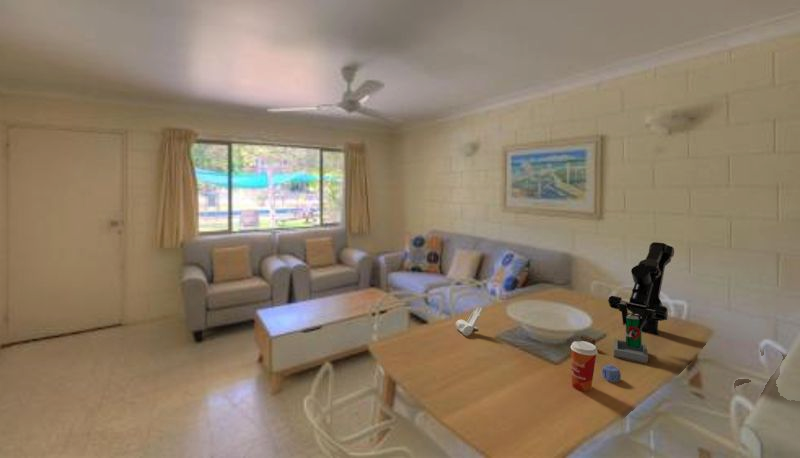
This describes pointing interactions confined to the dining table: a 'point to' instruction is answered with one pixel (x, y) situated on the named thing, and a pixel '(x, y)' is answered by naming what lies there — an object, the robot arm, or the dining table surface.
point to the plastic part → (469, 322)
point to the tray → (630, 352)
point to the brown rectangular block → (587, 339)
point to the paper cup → (582, 364)
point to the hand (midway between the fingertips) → (631, 326)
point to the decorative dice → (611, 373)
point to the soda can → (633, 330)
